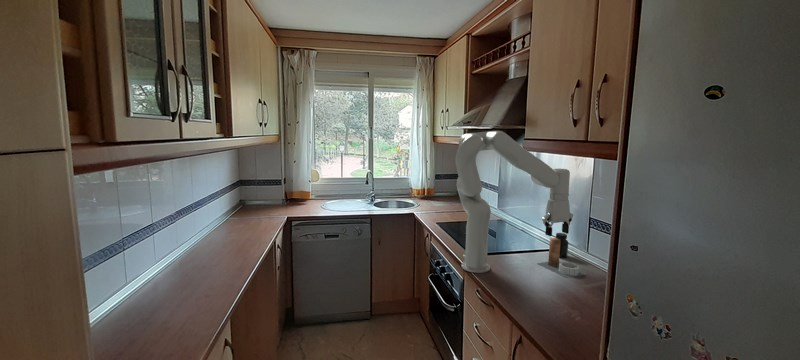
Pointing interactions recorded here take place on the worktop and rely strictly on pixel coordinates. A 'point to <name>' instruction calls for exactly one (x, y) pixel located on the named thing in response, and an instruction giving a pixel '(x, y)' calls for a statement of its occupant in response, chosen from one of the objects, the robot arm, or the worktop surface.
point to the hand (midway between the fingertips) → (556, 234)
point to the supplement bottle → (563, 244)
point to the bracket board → (555, 269)
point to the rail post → (554, 252)
